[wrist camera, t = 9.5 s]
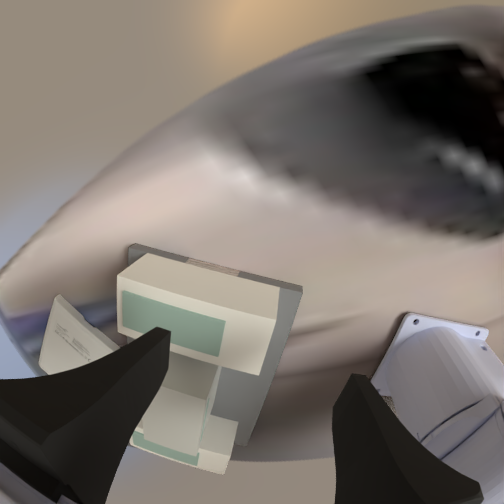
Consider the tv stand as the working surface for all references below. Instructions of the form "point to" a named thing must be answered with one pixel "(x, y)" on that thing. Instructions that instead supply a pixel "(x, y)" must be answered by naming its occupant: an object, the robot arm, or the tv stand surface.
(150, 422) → the block
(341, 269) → the tv stand surface
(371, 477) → the robot arm
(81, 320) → the external hard drive
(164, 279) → the rail panel
